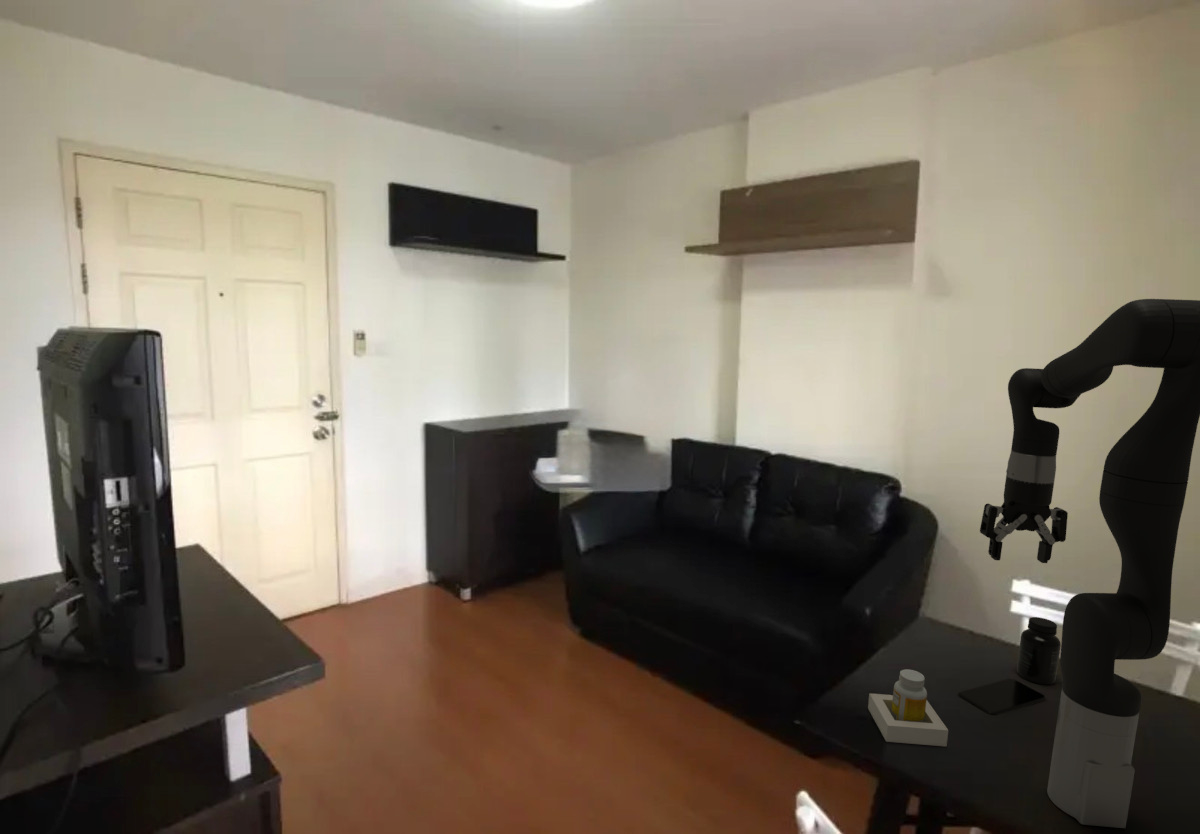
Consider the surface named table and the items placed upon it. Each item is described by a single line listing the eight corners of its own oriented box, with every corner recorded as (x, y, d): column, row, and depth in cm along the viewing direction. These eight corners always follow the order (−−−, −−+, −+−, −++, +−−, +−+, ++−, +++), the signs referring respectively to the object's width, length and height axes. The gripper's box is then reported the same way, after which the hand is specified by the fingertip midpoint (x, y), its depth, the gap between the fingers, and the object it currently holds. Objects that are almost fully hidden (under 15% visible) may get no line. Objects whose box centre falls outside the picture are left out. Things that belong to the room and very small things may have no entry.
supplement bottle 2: (1045, 670, 141) (1052, 616, 139) (1062, 687, 134) (1070, 631, 132) (1010, 666, 142) (1017, 613, 140) (1025, 683, 135) (1033, 627, 133)
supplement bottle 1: (884, 723, 119) (889, 673, 118) (899, 712, 123) (904, 663, 121) (914, 738, 115) (920, 686, 114) (928, 726, 119) (934, 676, 117)
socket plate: (946, 746, 114) (948, 730, 113) (886, 741, 114) (887, 725, 114) (923, 712, 124) (925, 697, 123) (868, 708, 124) (869, 693, 124)
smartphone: (991, 718, 123) (1048, 701, 129) (992, 714, 123) (1049, 697, 129) (954, 696, 130) (1009, 680, 137) (954, 691, 130) (1010, 676, 136)
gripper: (1000, 479, 120) (989, 565, 122) (1083, 483, 119) (1070, 570, 121) (980, 470, 127) (970, 551, 130) (1057, 473, 126) (1046, 555, 129)
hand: (1018, 560), depth 126 cm, fingers open, 8 cm apart
